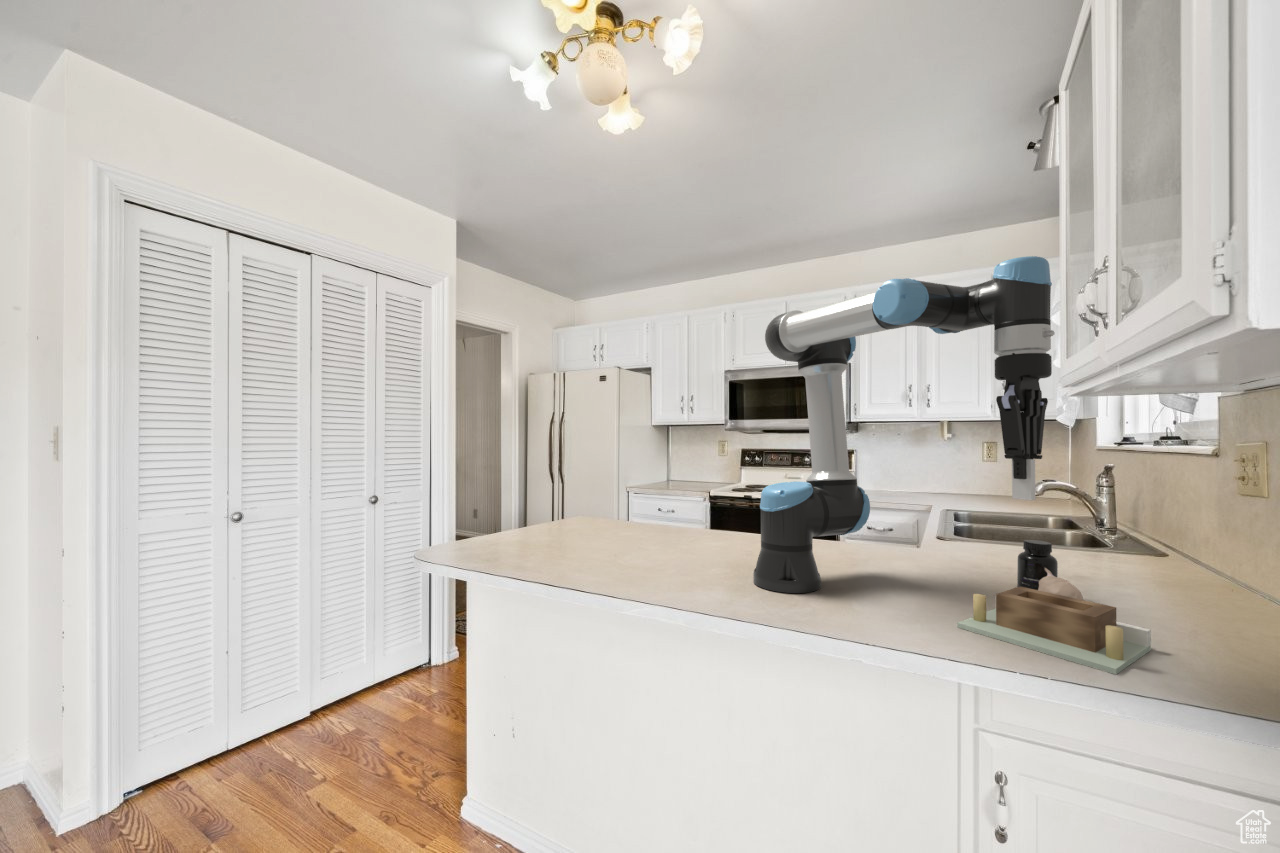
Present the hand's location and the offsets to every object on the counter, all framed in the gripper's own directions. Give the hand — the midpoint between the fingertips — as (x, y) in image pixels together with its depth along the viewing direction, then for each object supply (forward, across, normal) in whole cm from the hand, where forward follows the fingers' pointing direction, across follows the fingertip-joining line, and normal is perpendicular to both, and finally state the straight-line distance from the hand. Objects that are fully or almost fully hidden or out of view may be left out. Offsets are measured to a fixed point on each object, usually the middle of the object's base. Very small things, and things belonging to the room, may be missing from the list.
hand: (1023, 499), depth 85 cm
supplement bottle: (+25, +33, +10) cm, 42 cm away
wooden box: (+24, +10, 0) cm, 26 cm away
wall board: (+24, +9, 0) cm, 26 cm away
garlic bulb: (+25, +27, +4) cm, 37 cm away
